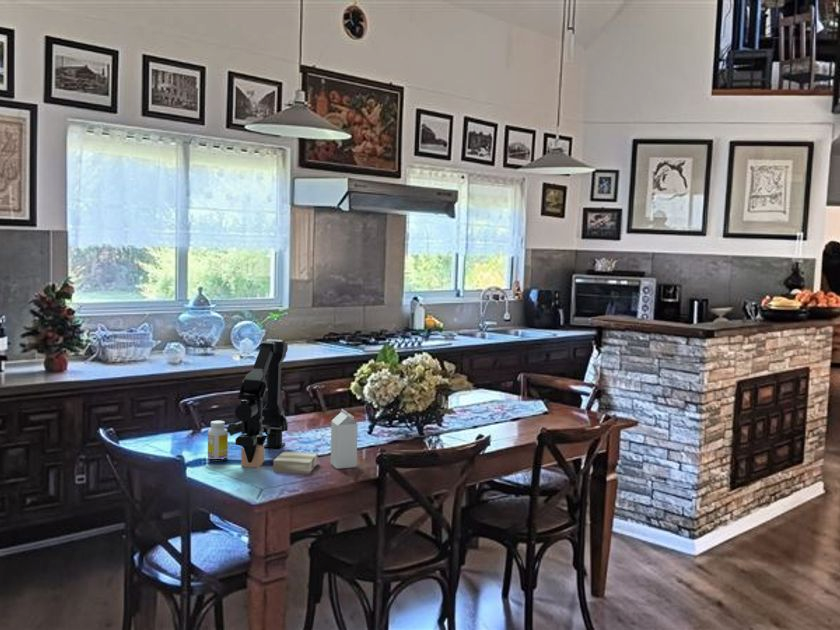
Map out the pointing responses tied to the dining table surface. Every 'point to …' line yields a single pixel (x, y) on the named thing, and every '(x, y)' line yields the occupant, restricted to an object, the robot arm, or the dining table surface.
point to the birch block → (295, 462)
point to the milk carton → (344, 441)
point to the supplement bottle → (217, 440)
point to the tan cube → (257, 458)
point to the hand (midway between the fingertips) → (252, 459)
